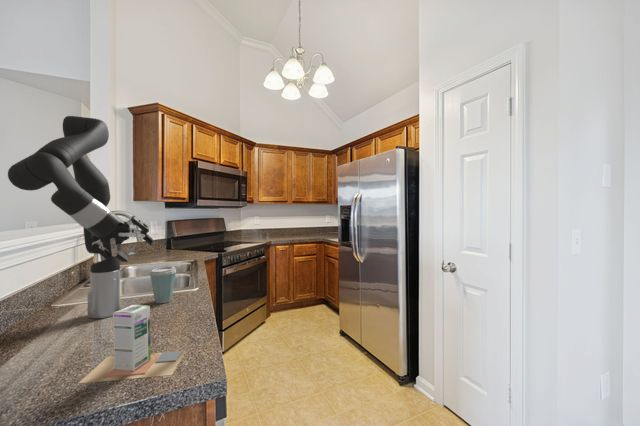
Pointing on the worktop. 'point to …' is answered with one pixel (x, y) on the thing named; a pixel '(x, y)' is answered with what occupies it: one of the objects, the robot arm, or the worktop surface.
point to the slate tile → (169, 356)
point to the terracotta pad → (139, 370)
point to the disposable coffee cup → (163, 283)
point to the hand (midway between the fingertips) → (139, 251)
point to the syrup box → (131, 337)
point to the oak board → (153, 371)
